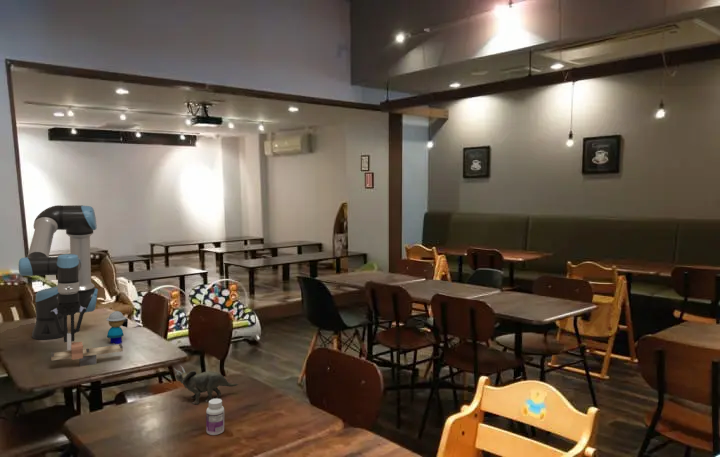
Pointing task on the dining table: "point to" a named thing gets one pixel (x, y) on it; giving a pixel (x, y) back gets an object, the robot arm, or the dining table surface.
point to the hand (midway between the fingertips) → (69, 349)
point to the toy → (116, 326)
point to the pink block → (77, 350)
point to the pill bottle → (215, 417)
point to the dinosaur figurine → (202, 383)
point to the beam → (88, 354)
